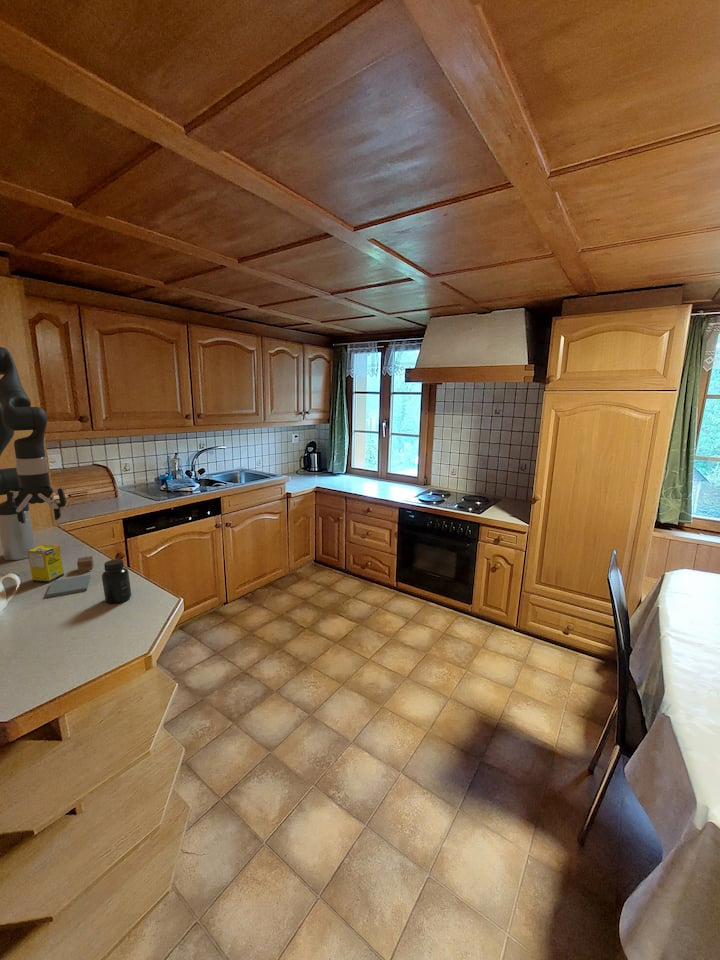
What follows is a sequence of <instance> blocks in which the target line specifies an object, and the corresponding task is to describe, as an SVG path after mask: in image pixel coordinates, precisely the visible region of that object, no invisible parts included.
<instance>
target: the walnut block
mask: <svg viewBox="0 0 720 960" xmlns="http://www.w3.org/2000/svg"><path fill="white" fill-rule="evenodd" d="M76 564H77V571H78V572H81V573H85V572H84V571H87V572H90V571H89V570H92V569H94V567H93V566H94V559H93V556H92V555H91V556H90V555H89V556H84V557H83V556H82V557H78V558H77V562H76ZM92 571H93V570H92Z"/></svg>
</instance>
